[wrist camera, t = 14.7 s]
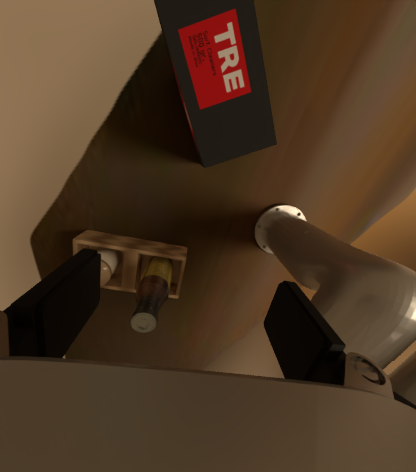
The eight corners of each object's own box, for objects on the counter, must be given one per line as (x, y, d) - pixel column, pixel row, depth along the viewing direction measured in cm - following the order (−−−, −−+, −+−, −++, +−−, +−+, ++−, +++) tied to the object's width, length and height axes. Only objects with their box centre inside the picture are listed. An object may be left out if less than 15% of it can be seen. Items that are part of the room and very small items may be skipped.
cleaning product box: (240, 151, 42) (276, 144, 23) (200, 164, 42) (204, 167, 24) (219, 56, 36) (244, -56, 17) (173, 73, 36) (149, -18, 18)
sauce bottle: (158, 279, 51) (137, 346, 32) (143, 261, 49) (110, 322, 30) (179, 266, 50) (170, 328, 31) (164, 247, 48) (144, 302, 29)
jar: (124, 246, 47) (110, 262, 40) (122, 269, 49) (109, 289, 42) (95, 241, 46) (76, 257, 39) (95, 265, 48) (77, 284, 41)
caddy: (187, 247, 49) (186, 257, 44) (180, 284, 53) (178, 298, 47) (87, 229, 46) (72, 238, 41) (87, 270, 50) (73, 283, 44)
